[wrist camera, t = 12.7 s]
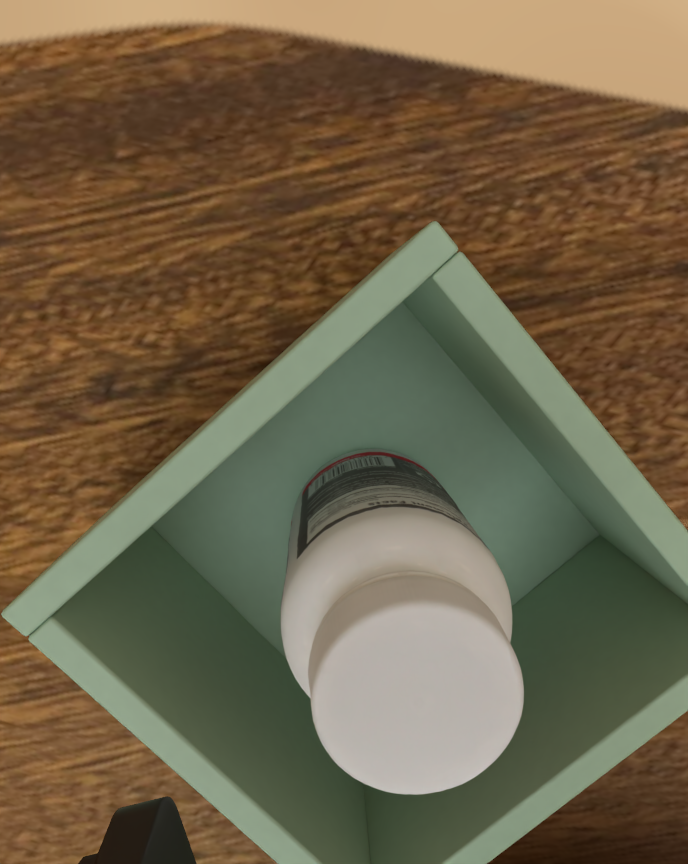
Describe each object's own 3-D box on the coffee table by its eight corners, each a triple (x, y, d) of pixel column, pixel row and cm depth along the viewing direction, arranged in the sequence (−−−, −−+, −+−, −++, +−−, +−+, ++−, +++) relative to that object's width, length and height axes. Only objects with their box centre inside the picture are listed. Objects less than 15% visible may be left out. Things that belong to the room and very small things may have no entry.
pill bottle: (423, 613, 22) (507, 856, 12) (273, 576, 21) (236, 797, 11) (471, 468, 21) (605, 606, 11) (316, 425, 20) (314, 531, 11)
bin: (111, 507, 21) (-3, 614, 14) (391, 253, 20) (435, 218, 12) (356, 745, 23) (373, 952, 16) (622, 529, 22) (779, 642, 14)
